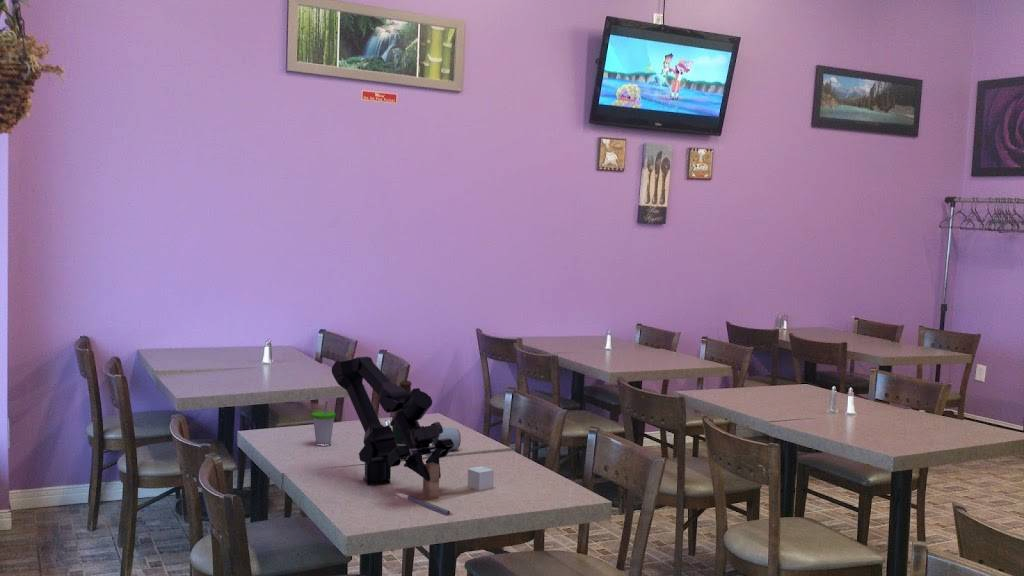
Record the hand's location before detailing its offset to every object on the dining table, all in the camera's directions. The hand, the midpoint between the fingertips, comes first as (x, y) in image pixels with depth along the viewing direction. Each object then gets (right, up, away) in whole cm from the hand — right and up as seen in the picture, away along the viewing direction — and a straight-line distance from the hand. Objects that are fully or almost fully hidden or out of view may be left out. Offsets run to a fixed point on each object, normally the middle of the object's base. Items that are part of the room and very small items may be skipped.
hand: (434, 479), depth 251 cm
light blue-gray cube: (+12, -5, +13) cm, 18 cm away
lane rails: (+8, -6, +5) cm, 11 cm away
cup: (-41, -1, +62) cm, 75 cm away
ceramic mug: (-2, -3, +60) cm, 61 cm away
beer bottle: (-13, -3, +49) cm, 51 cm away
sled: (+6, -6, +7) cm, 11 cm away
